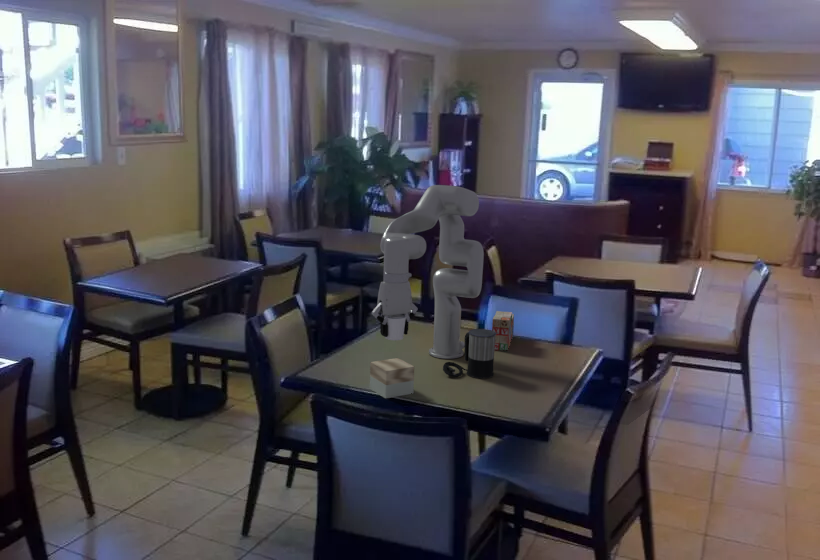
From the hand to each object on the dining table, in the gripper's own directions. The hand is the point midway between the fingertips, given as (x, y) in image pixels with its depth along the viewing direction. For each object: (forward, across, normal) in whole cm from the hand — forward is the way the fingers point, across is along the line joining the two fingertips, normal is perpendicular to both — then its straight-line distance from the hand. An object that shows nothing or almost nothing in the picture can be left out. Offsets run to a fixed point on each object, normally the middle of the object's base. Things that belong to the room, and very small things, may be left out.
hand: (394, 334), depth 245 cm
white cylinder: (+1, 0, 0) cm, 1 cm away
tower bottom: (+19, 0, 0) cm, 19 cm away
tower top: (+14, 0, 0) cm, 14 cm away
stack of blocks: (+18, -64, -29) cm, 73 cm away
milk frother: (+19, -30, -3) cm, 36 cm away
